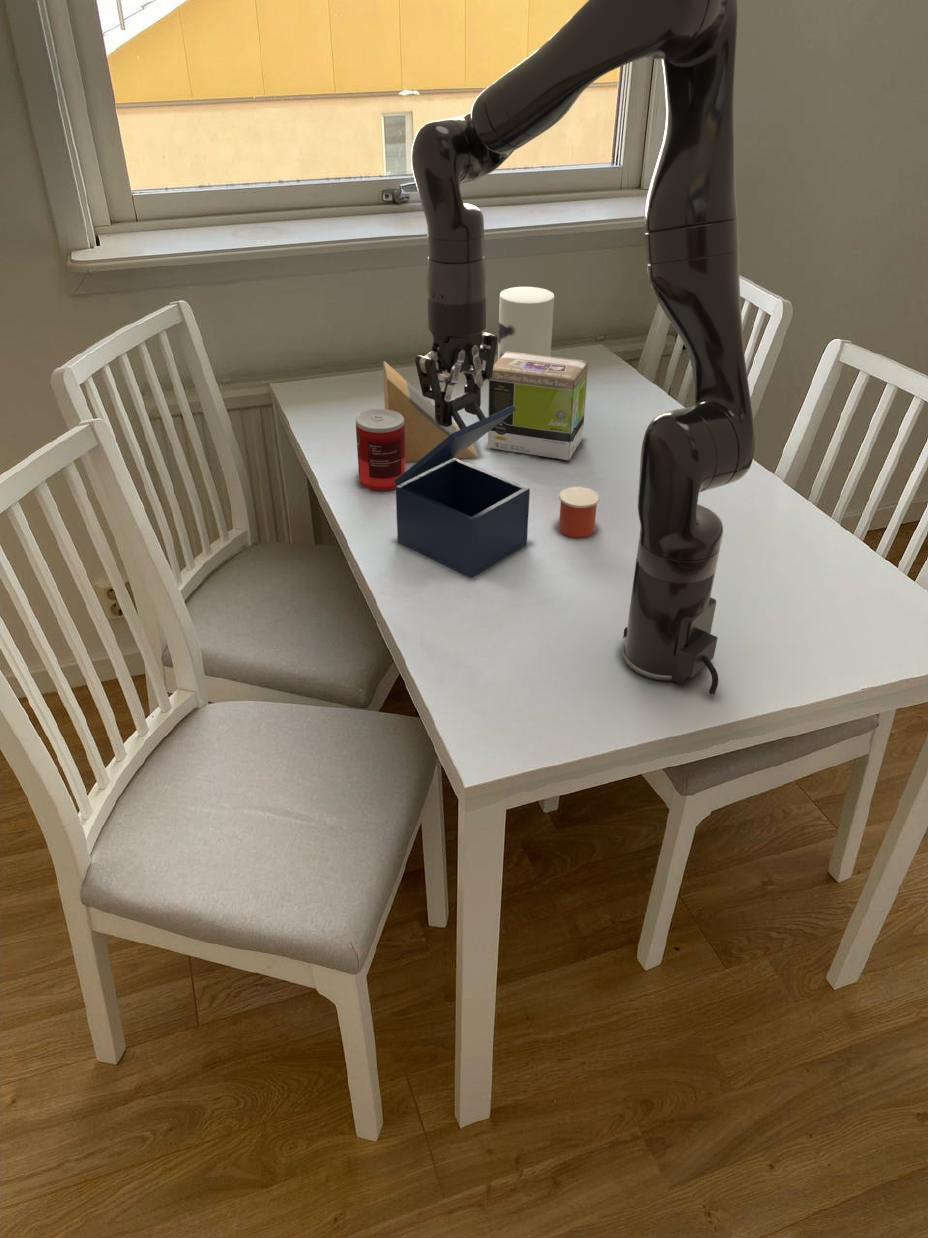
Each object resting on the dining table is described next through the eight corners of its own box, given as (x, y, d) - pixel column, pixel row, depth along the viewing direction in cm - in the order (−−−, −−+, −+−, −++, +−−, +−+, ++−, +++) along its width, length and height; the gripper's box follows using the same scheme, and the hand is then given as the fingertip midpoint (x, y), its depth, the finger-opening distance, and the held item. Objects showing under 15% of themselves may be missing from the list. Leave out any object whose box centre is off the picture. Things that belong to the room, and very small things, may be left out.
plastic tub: (603, 528, 147) (607, 495, 144) (580, 542, 144) (583, 509, 140) (572, 515, 151) (575, 482, 147) (549, 529, 147) (551, 496, 144)
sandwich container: (478, 457, 166) (480, 374, 158) (390, 463, 165) (387, 379, 156) (471, 436, 173) (472, 355, 165) (386, 441, 171) (382, 359, 163)
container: (488, 391, 190) (490, 289, 179) (532, 384, 194) (538, 282, 182) (511, 410, 183) (515, 304, 171) (557, 402, 186) (564, 298, 175)
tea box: (583, 439, 173) (590, 359, 164) (568, 463, 165) (575, 380, 157) (503, 426, 177) (506, 348, 168) (485, 449, 169) (487, 367, 161)
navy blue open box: (527, 544, 143) (530, 488, 138) (471, 578, 136) (471, 520, 130) (454, 511, 151) (454, 457, 146) (397, 542, 143) (395, 486, 138)
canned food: (381, 465, 164) (378, 404, 157) (416, 479, 160) (414, 417, 153) (348, 481, 159) (344, 419, 153) (384, 496, 155) (381, 433, 148)
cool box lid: (516, 409, 133) (496, 375, 133) (455, 438, 125) (433, 402, 125) (455, 457, 145) (437, 426, 145) (396, 485, 138) (377, 453, 138)
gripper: (439, 312, 116) (443, 442, 126) (515, 286, 125) (512, 410, 135) (395, 300, 121) (402, 427, 130) (471, 276, 129) (472, 397, 139)
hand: (458, 418), depth 132 cm, fingers closed on cool box lid, 5 cm apart
